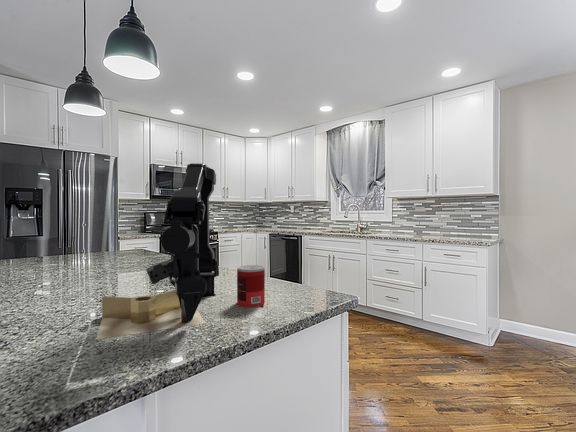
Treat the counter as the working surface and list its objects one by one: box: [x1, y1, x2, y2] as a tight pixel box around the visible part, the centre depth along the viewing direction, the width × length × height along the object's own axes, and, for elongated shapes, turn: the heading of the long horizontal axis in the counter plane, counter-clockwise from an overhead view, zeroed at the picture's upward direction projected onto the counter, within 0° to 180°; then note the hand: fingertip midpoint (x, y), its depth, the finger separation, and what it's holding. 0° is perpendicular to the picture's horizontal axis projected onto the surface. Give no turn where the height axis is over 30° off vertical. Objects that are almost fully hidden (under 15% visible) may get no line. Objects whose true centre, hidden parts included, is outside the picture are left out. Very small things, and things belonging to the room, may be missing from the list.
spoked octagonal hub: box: [101, 289, 180, 324], centre depth 78 cm, size 18×9×5 cm, turn 116°
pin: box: [181, 299, 191, 323], centre depth 75 cm, size 2×2×8 cm
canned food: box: [236, 264, 266, 308], centre depth 90 cm, size 8×8×11 cm
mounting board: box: [95, 306, 207, 341], centre depth 76 cm, size 22×16×1 cm
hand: (186, 314), depth 75 cm, fingers open, 9 cm apart
